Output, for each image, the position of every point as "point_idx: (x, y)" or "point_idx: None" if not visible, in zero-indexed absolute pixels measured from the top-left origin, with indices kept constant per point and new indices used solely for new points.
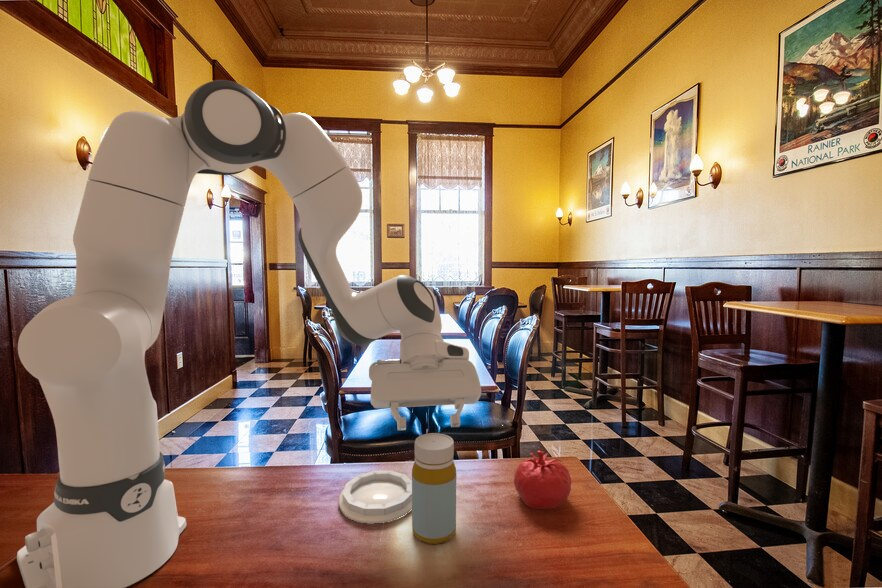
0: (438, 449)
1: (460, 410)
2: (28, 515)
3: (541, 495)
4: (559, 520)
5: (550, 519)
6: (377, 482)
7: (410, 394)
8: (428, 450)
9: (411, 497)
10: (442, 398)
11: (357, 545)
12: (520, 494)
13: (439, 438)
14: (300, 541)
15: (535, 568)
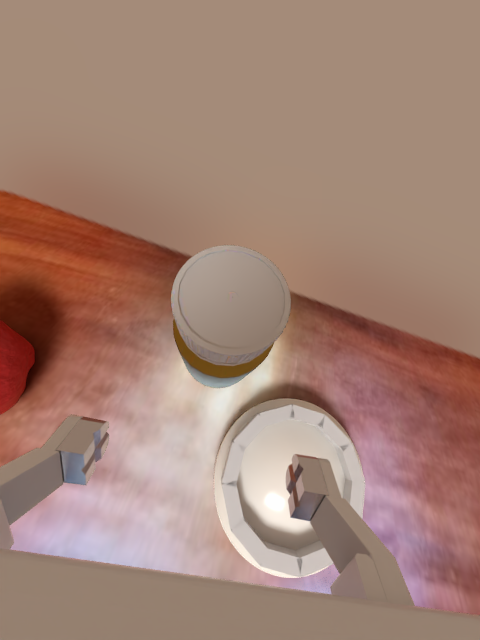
0: (237, 246)
1: (16, 461)
2: None
3: (3, 324)
4: (12, 312)
5: (24, 319)
6: (289, 533)
7: (309, 633)
8: (263, 257)
9: (235, 436)
10: (67, 559)
11: (327, 361)
12: (26, 374)
13: (208, 312)
14: (401, 396)
15: (123, 249)
